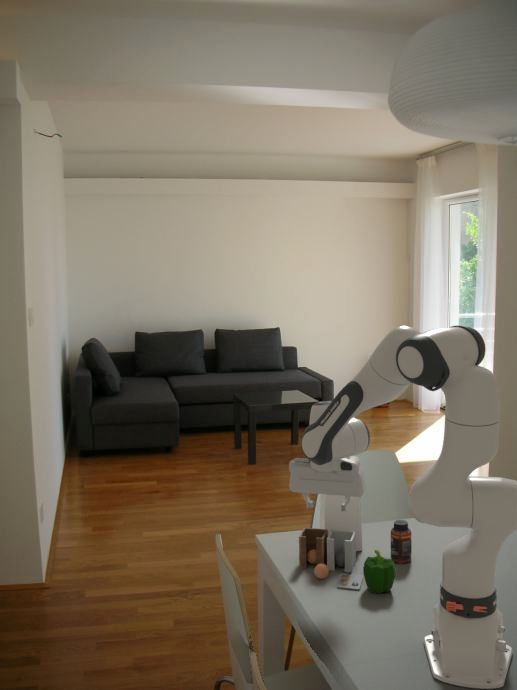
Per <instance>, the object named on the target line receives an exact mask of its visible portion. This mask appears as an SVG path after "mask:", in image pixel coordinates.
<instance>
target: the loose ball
mask: <svg viewBox="0 0 517 690" xmlns="http://www.w3.org/2000/svg"><path fill="white" fill-rule="evenodd" d="M329 573H330V570H329V569H328V567H327V564H326V565H325V564H318V565H317V564H316V566H315V567H314V575H315V577H316V578H317V579H320V580H322V579H323V580H324V579H326V578H327V577H328V576H329Z"/></svg>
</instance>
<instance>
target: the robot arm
mask: <svg viewBox="0 0 517 690" xmlns="http://www.w3.org/2000/svg"><path fill="white" fill-rule="evenodd" d="M485 355H486V344H485V340H484V338H483V336H482V335H481V333H480V332H479V331H478V330H477V329H475V328H473V327H472V326H471V327H470V326H467V325H452V326H449V327H442V328H433V329H431V330H427V331H424V332H420V331H419V330H418V329H416V328H414V327H411V326H408V325H401V326H399V325H398V326H396V327H394V328H393V329H391V330H390V331H389V332H388V333H387V334H386V336H384V338H382V340H381V341H380V343H379V344H378V345H377V346H376V348H375V349H374V351H373V352H372V353H371V355H370V357H369V359H368V360H367V361H366V363H365V364H364V365H363V367H362V368H361V369H360V370H359V372H358V373H357V374H356V375H355V376H354V377H353V378H352V379H350V381H349V382H348V383H347V384H346V385H345V386H344V387H342V388H341V390H339V392H338V393H337V394H336V395H335V397H334V398H333V400H326V401H318V402H316V403H314V404H313V405H311V408H310V414H309V425H308V426H307V427H306V428H305V429H304V431H303V434H302V437H301V441H300V446H301V450H302V453H303V454H304V456H305V458H299V457H295V458H294V459H291V460H289V463H288V470H289V473H290V475H289V484H288V485H289V486H288V487H289V488H288V489H289V490H290V491H291V492H292V493H301V494H302V498H303V499H304V501H305V503H306V509H310V510H311V509H313V508H314V500H311V499H310V497H309V495H310V494H314V495H315V494H317V495H321V494H326V495H339V496H345V499H346V500H347V501H346V502H345V503H342V505H341V511H347V509H348V503H349V502H350V500H351V498H352V496H353V497H360V498H361V497H362V496H363V495H364V493H366V492H365V489H366V483H365V475H364V472H363V470H362V468H361V467H360V466H361V465H360V464H361V459H360V457H359V456H358V455H360V454H362V453H365V452H366V451H367V450H368V448H369V446H370V441H371V436H370V431H369V428H368V425H366V423H365V422H364V421H363V420H362V419H360V418H357V417H356V416H358V415H359V414H361V413H363V412H364V411H367V410H370V409H374V408H375V407H378V406H381V405H385V404H388V403H390V402H393V401H395V400H396V399H397V398H399V397H400V396H401V395H402V394H403V393H405V391H406V390H407V389H408V388H409V387H410V385H411V384H414V385H418V386H420V387H424V389H427V391H430V392H435V391H438V390H441V391H442V392H443V395H444V398H445V408H444V431H443V441H442V449H441V452H440V455H439V457H438V458H437V461H436V462H435V463H434V465H433V466H432V468H430V469H429V470H428V471H427V472H426V473H425V474H424V475H422V476H421V477H419V478H417V479H416V480H415V481H414V482H413V483H412V485H411V486H410V489H409V492H408V499H407V501H408V507H409V510H410V513H411V514H412V516H413V518H414V519H415V520H416V521H417V522H418V523H421V524H426V525H429V526H434V527H439V528H461V529H462V528H463V529H465V528H466V529H469V531H468V532H467V533H466V534H465V535H463V536H462V537H459V538H458V539H455V540H453V541H452V542H450V543H449V544H448V545H447V546H446V548H444V550H443V553H442V562H441V563H442V565H441V567H442V571H441V572H442V574H441V577H442V578H441V579H442V580H441V582H440V585H439V586H440V587H439V602H438V603H437V604H435V606H433V608H432V609H433V611H432V612H433V614H432V615H433V617H432V629H431V634H428V635H426V636H424V637H423V646H424V648H425V652H426V656H427V660H428V663H429V666H430V667H429V668H430V670H431V674H432V677H433V678H434V679H436V680H438V681H441V682H442V683H445V684H446V683H447V684H450V685H453V686H458V687H462V688H463V687H464V688H469V689H470V688H471V689H481V690H484V689H486V690H493V689H499V688H502V687H504V686H505V681H506V678H507V674H508V670H509V667H510V663H511V659H512V656H513V648H512V646H510V645H508V644H507V641H506V640H504V636H503V634H505V631H506V630H505V629H506V627H505V626H504V615H503V613H501V611H500V610H499V609H498V607H497V602H498V595H497V589H496V587H495V586H496V585H495V584H496V583H495V580H496V566H497V558H498V555H499V553H500V551H501V547H502V546H503V545H504V544H505V541H506V540H507V539H508V538H509V537H510V536H511V535H512V534H513V533H514V532H515V531H517V480H515V479H511V478H505V477H500V476H472V475H471V474H472V473H474V471H476V470H477V469H479V468H481V467H483V466H485V465H487V464H489V463H490V462H491V461H492V460H493V459H494V458H495V457H496V456H497V453H499V452H498V451H499V441H500V439H499V438H500V437H499V436H500V417H501V416H500V411H501V410H500V394H499V387H498V383H497V378H496V376H495V374H494V372H492V371H491V370H490V369H488V368H486V367H484V366H481V363H483V360H484V359H485ZM470 475H471V476H470Z"/></svg>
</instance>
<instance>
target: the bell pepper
mask: <svg viewBox="0 0 517 690" xmlns="http://www.w3.org/2000/svg"><path fill="white" fill-rule="evenodd" d="M374 553H375V555H376V556H373V557H372V556H367V557H366V559H365V560H364V563H363V568H362V569H363V579H364V581H365V584H366V587H367V589H368V591H370V592H371V593H375V594H382V593H383V592H384V593H388V592H390V591H391V589H392V588H393V585H394V583H395V577H396V566H395V562H394V561H393V560H392V559H391V558H385V557H384V556H382V555H381V551H380V550H379V549H374Z"/></svg>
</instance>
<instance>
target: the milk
mask: <svg viewBox="0 0 517 690" xmlns="http://www.w3.org/2000/svg"><path fill="white" fill-rule="evenodd" d="M346 501H347V500H346V499H345V496H339V495H326V494H320V501H319V504H320V505H319V510H320V511H319V529H327V530H328V536H329V534H330V531H331V530H339V531H350V532H355V536H356V552H360V551H361V552H363V549H364V548H363V533H362V532H363V530H362V528H363V527H362V510H361V509H362V508H361V507H362V506H361V505H362V504H361V503H362V502H361V501H362V500H361V497H353V496H352V498H351V500H350V502H349V503H348V509H347V511H341V505H342V503H345V502H346Z"/></svg>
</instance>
